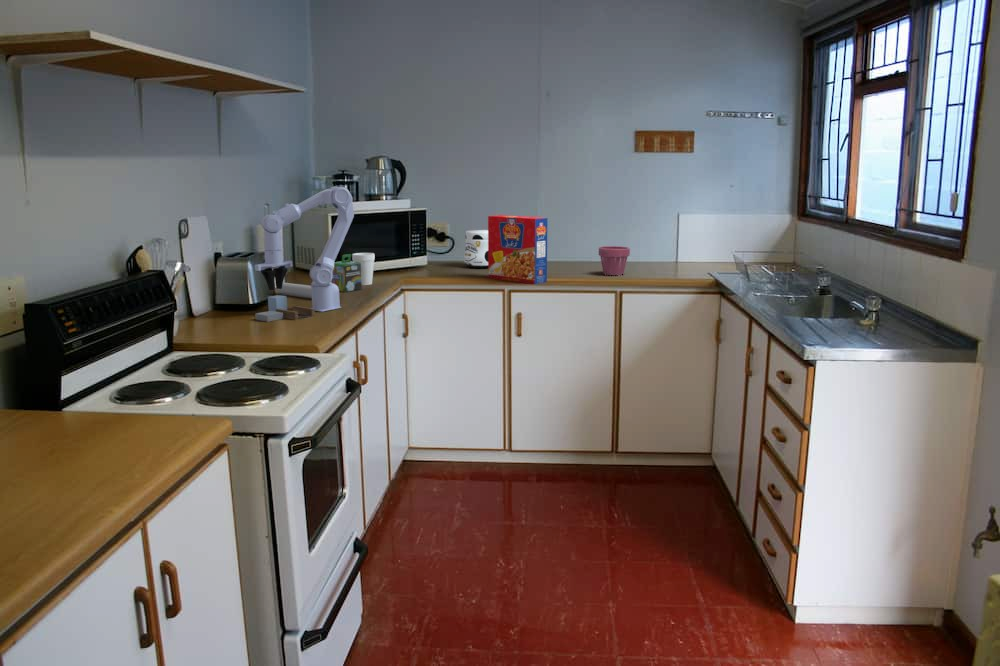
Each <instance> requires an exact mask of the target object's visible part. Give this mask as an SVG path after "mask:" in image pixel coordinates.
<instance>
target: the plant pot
mask: <svg viewBox="0 0 1000 666" xmlns="http://www.w3.org/2000/svg"><path fill="white" fill-rule="evenodd" d="M630 251H631V249H630V247H627V246H617V245H615V246H614V245H607V246H605V245H604V246H599V247H598V256H599V257H600V262H601V267H602V273H603V275H604V274H607V275H606V276H608V275H622V274H623V275H624V274H625V269H626V266H627V261H628V257H629V256H630ZM623 275H622V276H623Z"/></svg>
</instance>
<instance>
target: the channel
mask: <svg viewBox="0 0 1000 666" xmlns="http://www.w3.org/2000/svg"><path fill="white" fill-rule="evenodd" d="M291 308H292V310H288V309H287V310H283V309H276V312H281V313H283V319H289V320H302V319H306V318H311V317H312V318H313V317H315V315H316V314H315V312H316V311H314V309H313V308H311V307H308V306H307V307H304V306H301V305H300V306H298V305H293V306H292V307H291Z"/></svg>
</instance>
